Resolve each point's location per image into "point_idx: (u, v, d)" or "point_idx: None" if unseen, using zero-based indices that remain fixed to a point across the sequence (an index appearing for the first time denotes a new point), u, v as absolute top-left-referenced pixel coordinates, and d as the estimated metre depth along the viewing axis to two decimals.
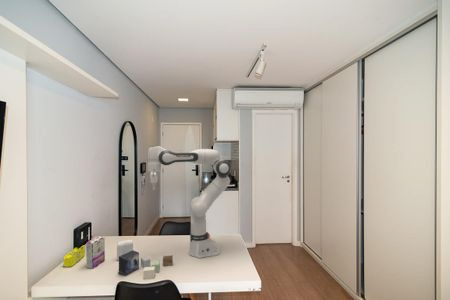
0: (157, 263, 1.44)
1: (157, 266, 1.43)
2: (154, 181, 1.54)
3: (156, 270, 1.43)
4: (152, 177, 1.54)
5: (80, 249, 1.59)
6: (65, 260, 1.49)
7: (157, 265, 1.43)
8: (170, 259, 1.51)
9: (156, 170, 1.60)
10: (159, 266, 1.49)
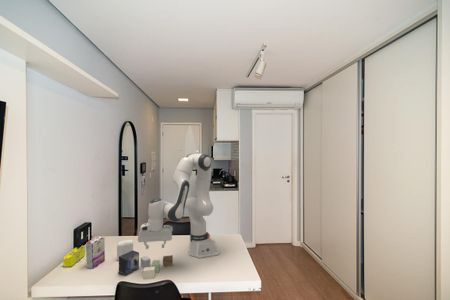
0: (157, 263, 1.44)
1: (156, 266, 1.43)
2: None
3: (156, 270, 1.43)
4: (171, 232, 1.47)
5: (79, 249, 1.59)
6: (65, 260, 1.49)
7: (157, 265, 1.43)
8: (170, 259, 1.51)
9: None
10: (159, 266, 1.49)
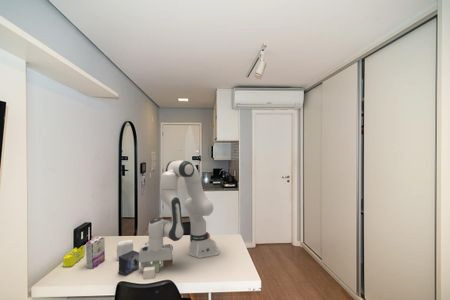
0: (157, 263, 1.44)
1: (157, 266, 1.43)
2: None
3: (156, 270, 1.43)
4: (171, 251, 1.47)
5: (79, 249, 1.59)
6: (65, 260, 1.49)
7: (157, 265, 1.43)
8: None
9: None
10: None
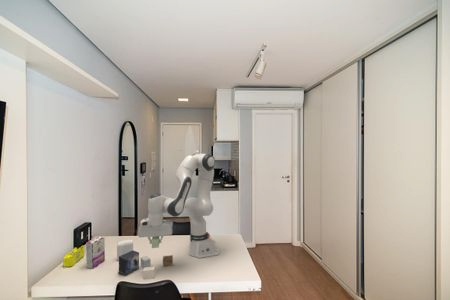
0: (157, 238, 1.44)
1: (156, 241, 1.43)
2: None
3: (156, 245, 1.43)
4: (171, 227, 1.47)
5: (79, 249, 1.59)
6: (65, 260, 1.49)
7: (157, 240, 1.43)
8: (170, 259, 1.51)
9: None
10: None
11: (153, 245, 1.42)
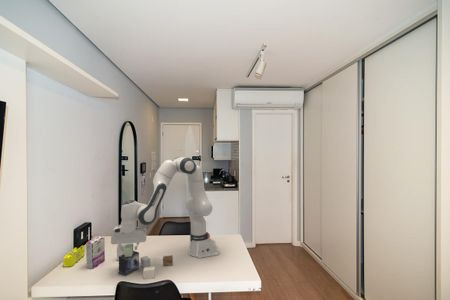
0: (130, 247, 1.43)
1: (129, 250, 1.42)
2: None
3: (129, 254, 1.42)
4: (145, 234, 1.46)
5: (79, 249, 1.59)
6: (65, 260, 1.49)
7: (130, 249, 1.42)
8: (170, 259, 1.51)
9: None
10: None
11: (126, 254, 1.41)
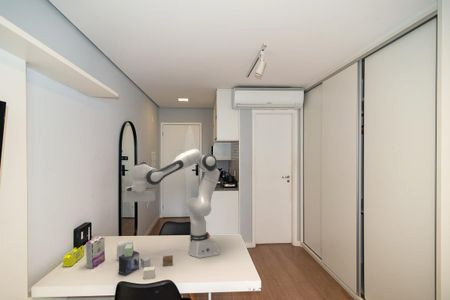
0: (130, 247, 1.43)
1: (129, 250, 1.42)
2: None
3: (129, 254, 1.42)
4: (154, 194, 1.60)
5: (79, 249, 1.59)
6: (65, 260, 1.49)
7: (130, 249, 1.42)
8: (170, 259, 1.51)
9: None
10: None
11: (126, 254, 1.41)
